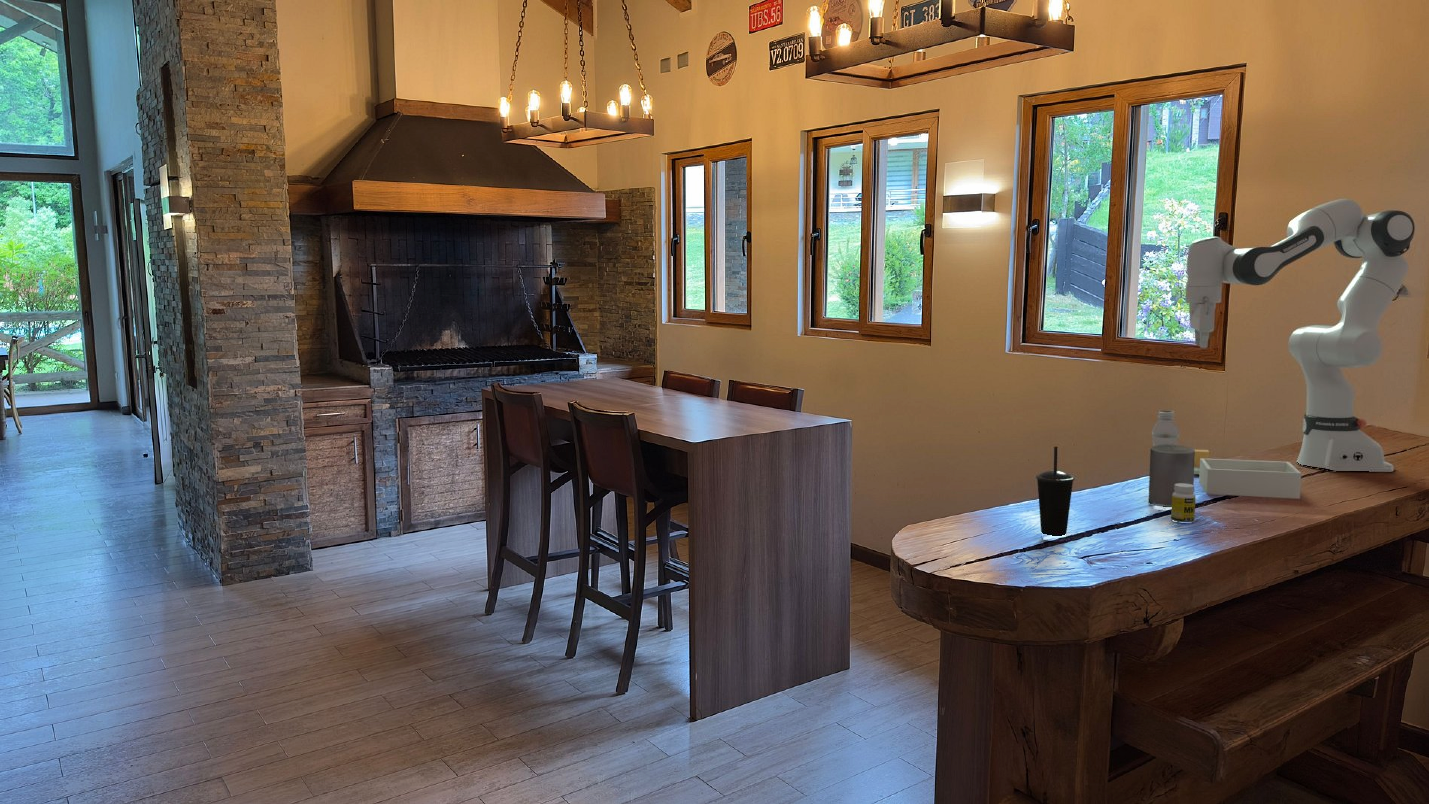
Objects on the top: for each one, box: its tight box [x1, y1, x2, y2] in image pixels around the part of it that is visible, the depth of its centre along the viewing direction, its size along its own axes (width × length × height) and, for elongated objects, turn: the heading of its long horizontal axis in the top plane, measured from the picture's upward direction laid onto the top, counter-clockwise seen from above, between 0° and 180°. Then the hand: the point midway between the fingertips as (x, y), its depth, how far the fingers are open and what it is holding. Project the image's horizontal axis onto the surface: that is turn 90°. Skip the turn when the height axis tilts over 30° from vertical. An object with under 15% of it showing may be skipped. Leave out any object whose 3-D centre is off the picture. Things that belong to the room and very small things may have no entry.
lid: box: [1193, 448, 1210, 475], centre depth 257 cm, size 21×15×6 cm
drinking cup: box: [1035, 446, 1075, 536], centre depth 200 cm, size 8×8×20 cm
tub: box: [1198, 458, 1302, 500], centre depth 237 cm, size 20×14×7 cm
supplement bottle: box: [1170, 483, 1197, 523], centre depth 212 cm, size 5×5×8 cm
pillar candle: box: [1147, 443, 1196, 507], centre depth 227 cm, size 10×10×15 cm
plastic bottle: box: [1151, 409, 1180, 447], centre depth 243 cm, size 6×7×20 cm
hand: (1201, 346), depth 264 cm, fingers open, 8 cm apart
